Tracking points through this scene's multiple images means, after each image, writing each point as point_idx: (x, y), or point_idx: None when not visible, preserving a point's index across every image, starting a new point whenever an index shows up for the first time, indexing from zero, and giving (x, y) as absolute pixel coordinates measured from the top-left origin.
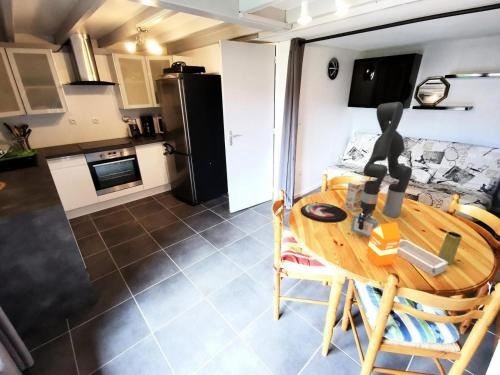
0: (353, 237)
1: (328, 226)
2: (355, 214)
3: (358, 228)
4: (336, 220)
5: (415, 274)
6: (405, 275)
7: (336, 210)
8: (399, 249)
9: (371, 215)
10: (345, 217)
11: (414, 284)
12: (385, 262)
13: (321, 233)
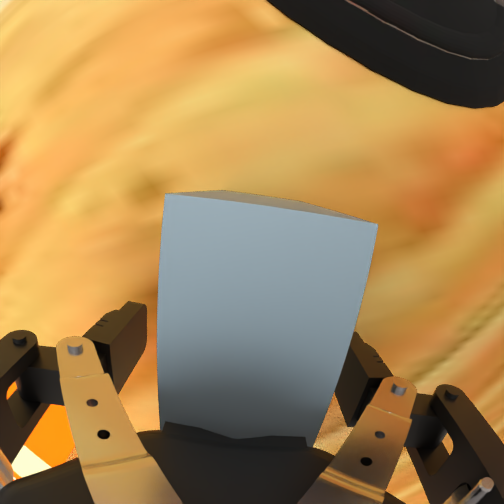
0: (114, 250)
1: (173, 4)
2: (270, 223)
3: (129, 302)
4: (318, 17)
5: None
6: None
7: (471, 13)
8: None
9: (412, 447)
10: (442, 90)
11: None
12: None
13: (47, 34)
